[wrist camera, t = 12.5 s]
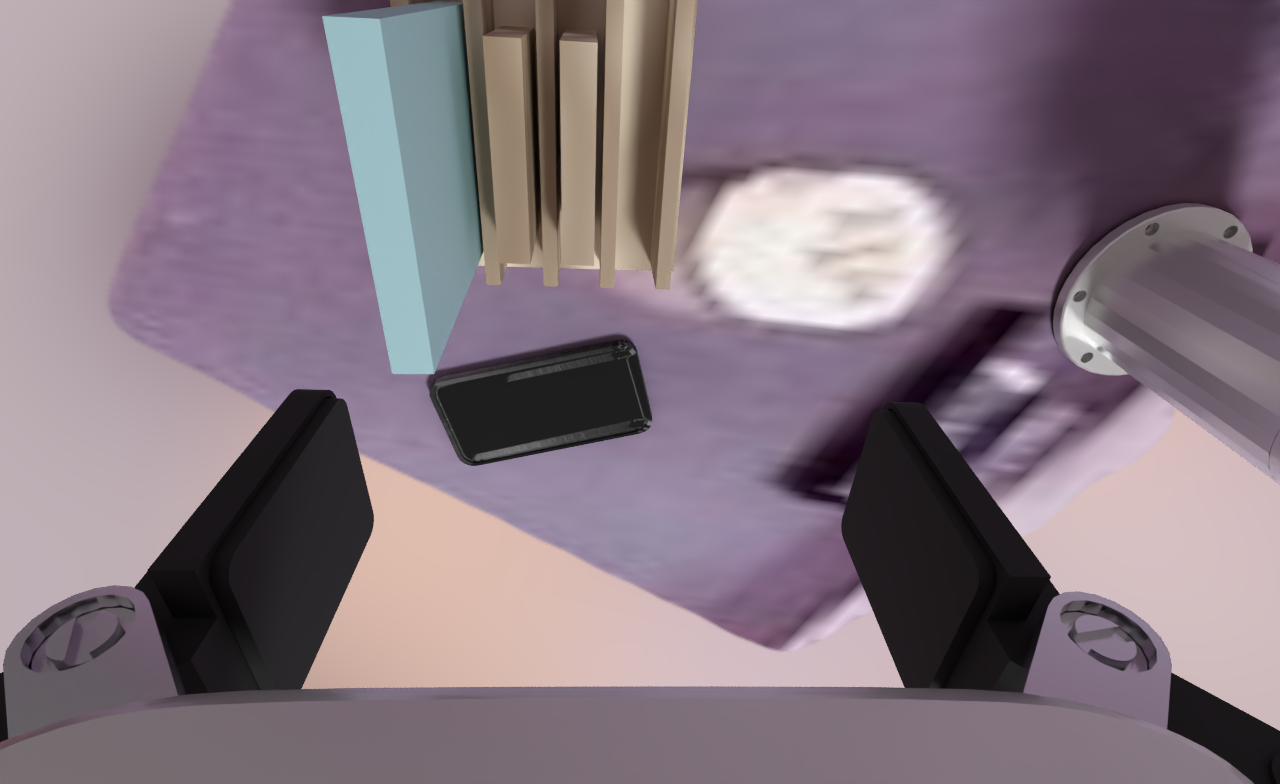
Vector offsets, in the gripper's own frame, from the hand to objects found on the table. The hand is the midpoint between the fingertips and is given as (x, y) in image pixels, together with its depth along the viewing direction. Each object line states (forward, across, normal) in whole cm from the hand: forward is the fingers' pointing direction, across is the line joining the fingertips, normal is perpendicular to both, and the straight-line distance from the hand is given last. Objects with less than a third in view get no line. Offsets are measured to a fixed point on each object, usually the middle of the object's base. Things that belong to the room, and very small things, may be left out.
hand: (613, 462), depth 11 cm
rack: (+30, +4, 0) cm, 30 cm away
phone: (+31, +5, +19) cm, 36 cm away
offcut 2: (+29, +2, 0) cm, 29 cm away
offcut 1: (+28, +5, 0) cm, 29 cm away
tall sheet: (+28, +8, 0) cm, 30 cm away
